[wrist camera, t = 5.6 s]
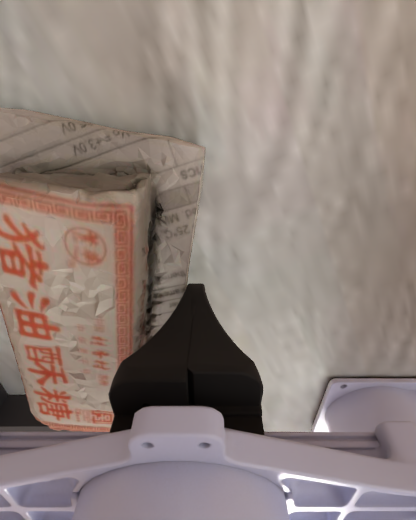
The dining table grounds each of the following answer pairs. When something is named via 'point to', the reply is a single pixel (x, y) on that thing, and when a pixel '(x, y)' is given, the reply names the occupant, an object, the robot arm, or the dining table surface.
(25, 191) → the packaged product
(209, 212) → the dining table surface
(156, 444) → the robot arm
